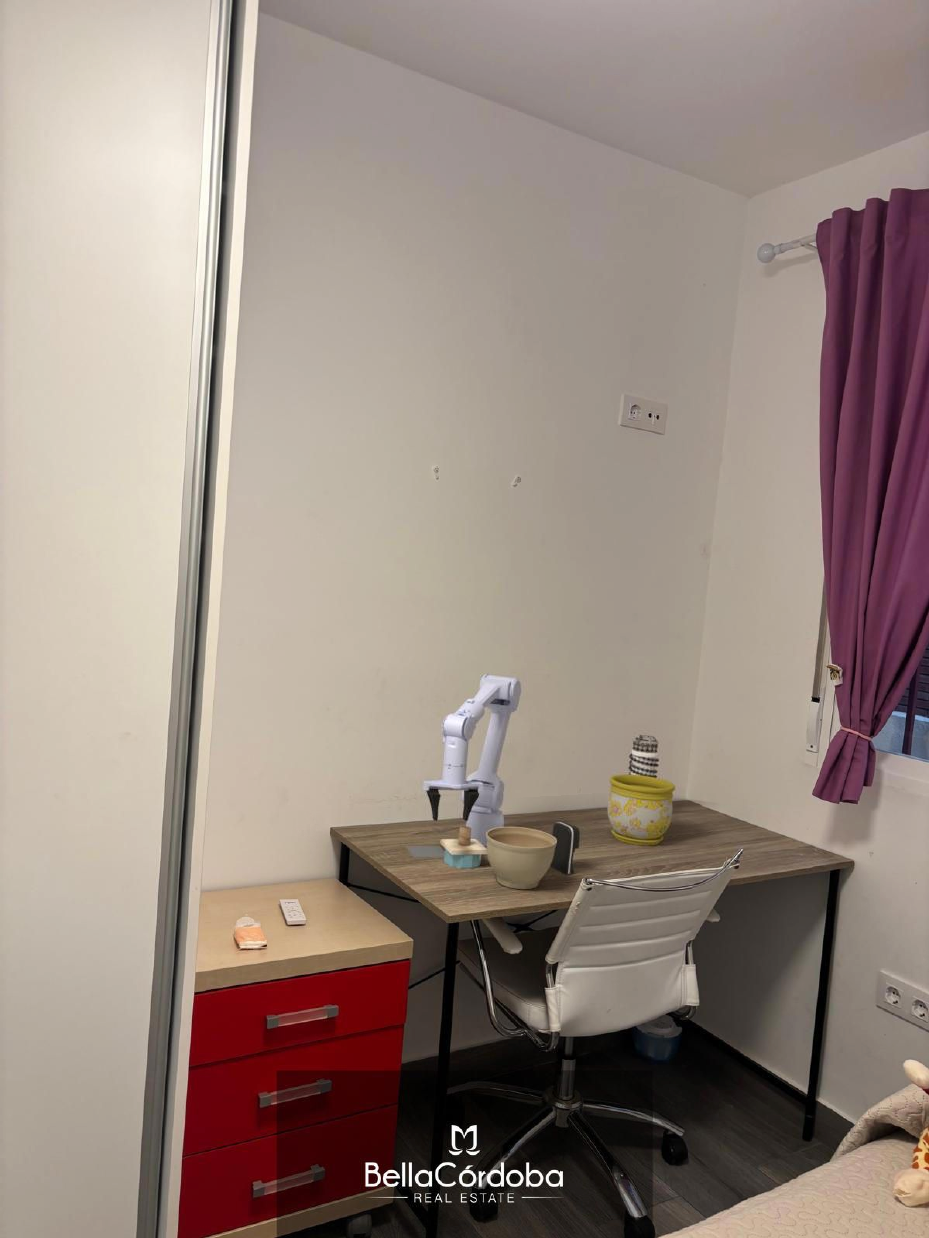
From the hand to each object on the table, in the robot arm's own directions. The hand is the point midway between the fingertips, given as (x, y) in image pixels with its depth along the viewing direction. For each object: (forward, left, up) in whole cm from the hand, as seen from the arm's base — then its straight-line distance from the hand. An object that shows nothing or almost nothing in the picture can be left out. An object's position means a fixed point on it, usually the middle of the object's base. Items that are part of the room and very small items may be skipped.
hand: (450, 819), depth 227 cm
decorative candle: (-73, -44, -10) cm, 86 cm away
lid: (-3, +4, -6) cm, 8 cm away
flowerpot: (-60, -19, -10) cm, 64 cm away
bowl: (-3, +4, -10) cm, 11 cm away
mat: (+4, -5, -10) cm, 12 cm away
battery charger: (-27, +8, -10) cm, 30 cm away
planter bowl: (-12, +17, -10) cm, 23 cm away
